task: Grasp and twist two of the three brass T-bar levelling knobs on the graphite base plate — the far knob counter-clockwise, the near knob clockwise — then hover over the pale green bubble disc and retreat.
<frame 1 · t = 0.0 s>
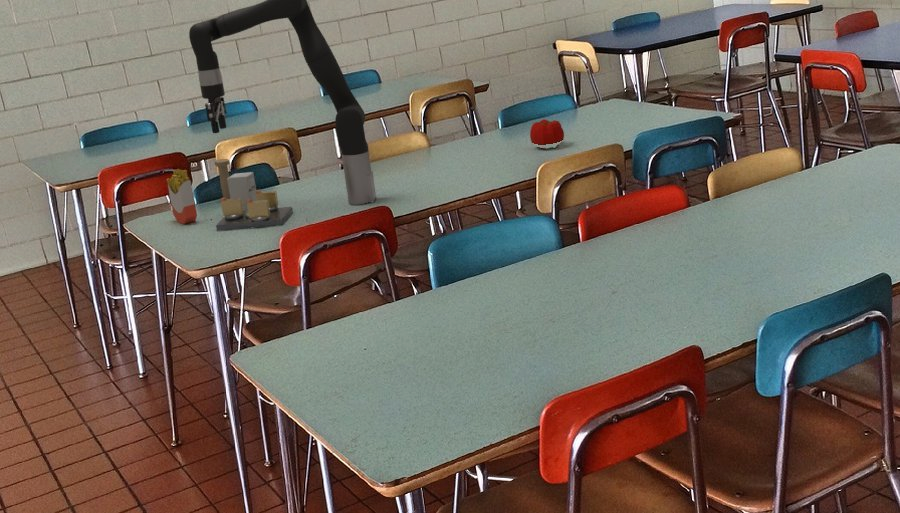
hand: (219, 130, 354), 29 cm above the table, tool pointing down, fingers open, 8 cm apart
knob b: (267, 199, 353), point 6 cm above the table, hinge at 0.0°
tomato: (548, 148, 410), on the table
handle: (229, 201, 384), on the table
supplement box: (246, 210, 367), on the table
knob a: (232, 207, 348), point 6 cm above the table, hinge at 0.0°
knob c: (258, 209, 341), point 6 cm above the table, hinge at 0.0°
base plate: (255, 221, 349), on the table
french fries container: (186, 222, 360), on the table
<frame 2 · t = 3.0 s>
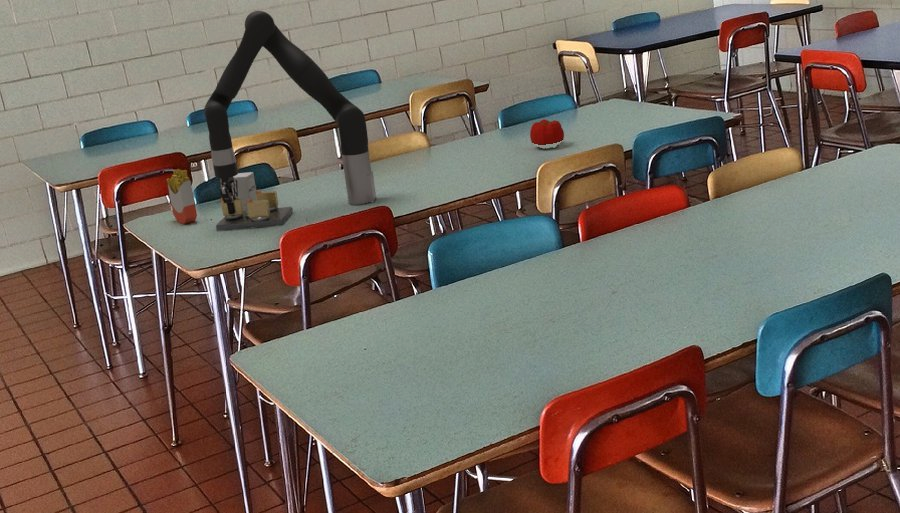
hand: (233, 212, 348), 4 cm above the table, tool pointing down, fingers closed on knob a, 2 cm apart
knob a: (232, 207, 348), point 6 cm above the table, hinge at 0.0°, touching gripper
everything else where it was.
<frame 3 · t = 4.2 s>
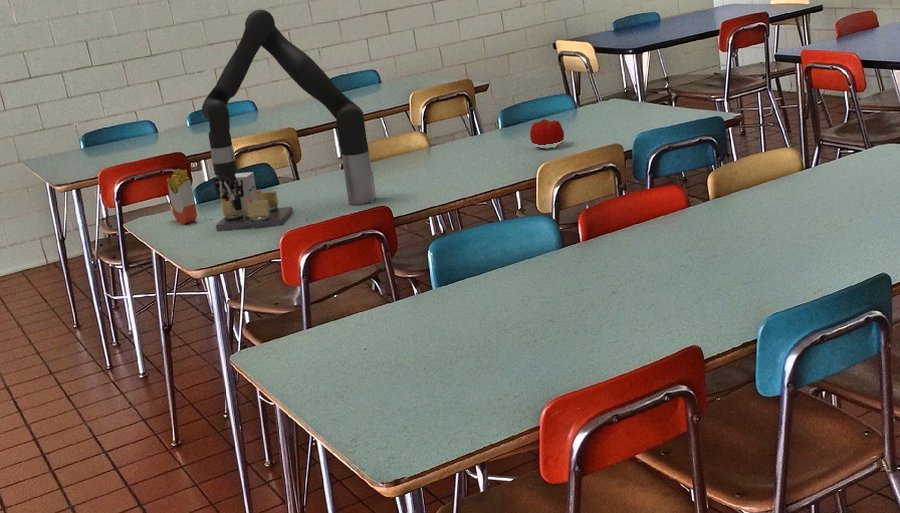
hand: (232, 208, 348), 5 cm above the table, tool pointing down, fingers open, 6 cm apart
knob a: (232, 207, 348), point 6 cm above the table, hinge at 28.2°
everything else where it was.
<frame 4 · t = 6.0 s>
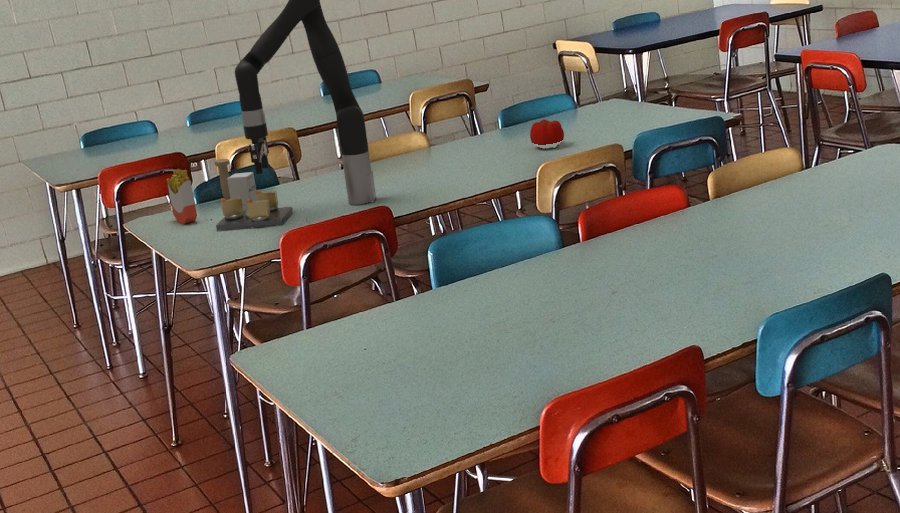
hand: (262, 170, 350), 16 cm above the table, tool pointing down, fingers open, 8 cm apart
knob a: (232, 207, 348), point 6 cm above the table, hinge at 32.5°
everything else where it was.
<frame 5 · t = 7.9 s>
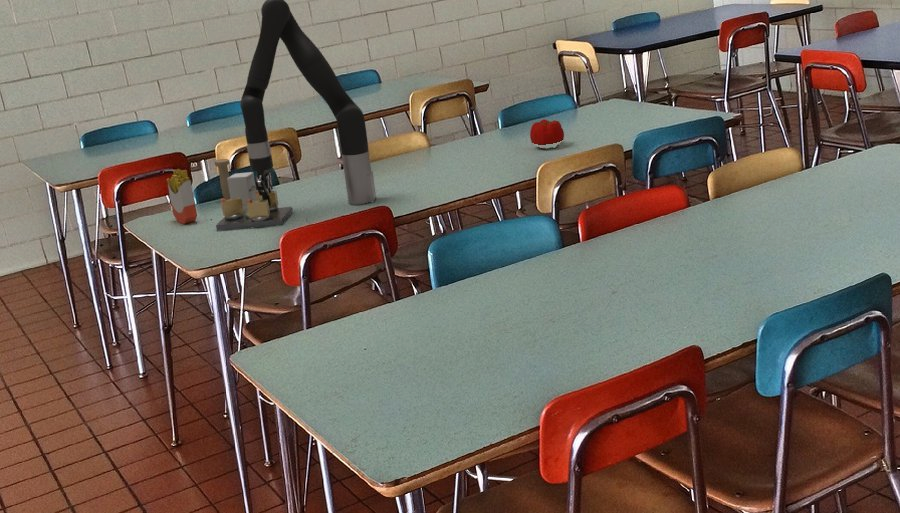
hand: (268, 204, 353), 4 cm above the table, tool pointing down, fingers closed on knob b, 2 cm apart
knob b: (267, 199, 353), point 6 cm above the table, hinge at 0.0°, touching gripper
everything else where it was.
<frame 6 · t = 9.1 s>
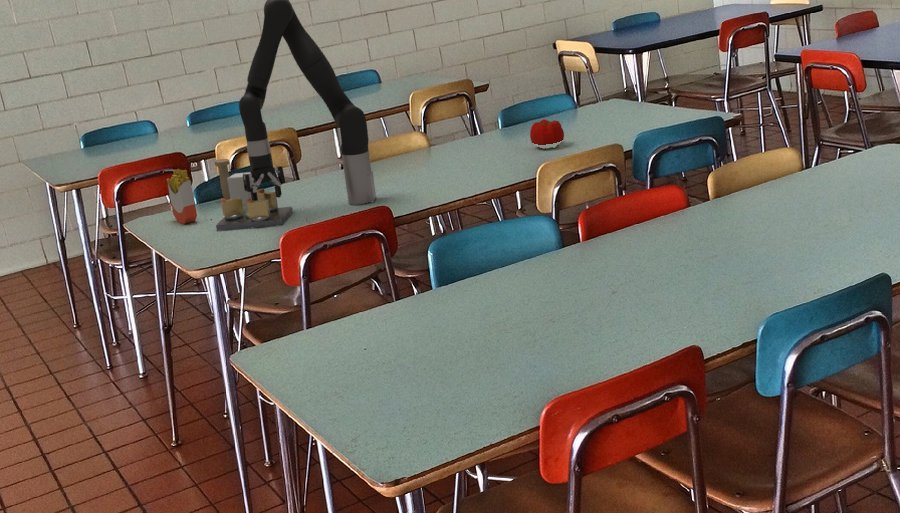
hand: (267, 200, 353), 6 cm above the table, tool pointing down, fingers open, 8 cm apart
knob b: (267, 199, 353), point 6 cm above the table, hinge at -31.0°
everything else where it was.
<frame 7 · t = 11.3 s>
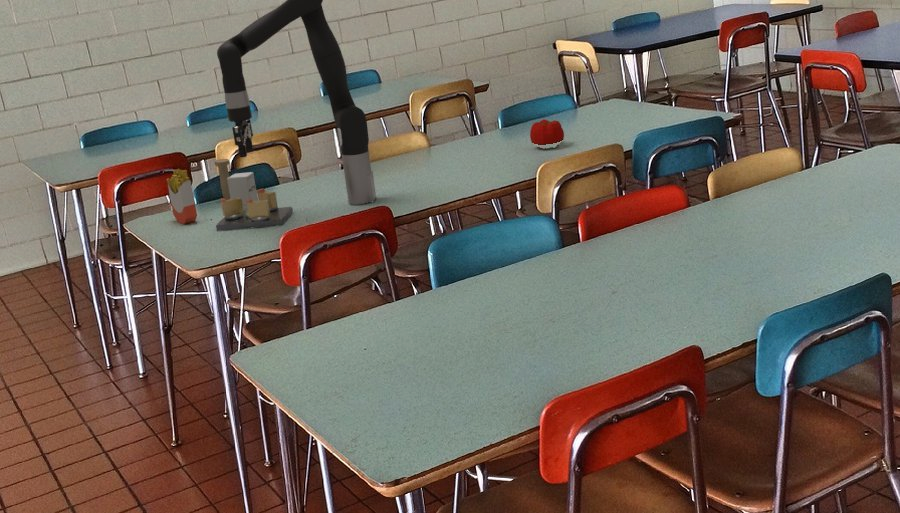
hand: (246, 154, 343), 23 cm above the table, tool pointing down, fingers open, 8 cm apart
knob b: (267, 199, 353), point 6 cm above the table, hinge at -34.3°
everything else where it was.
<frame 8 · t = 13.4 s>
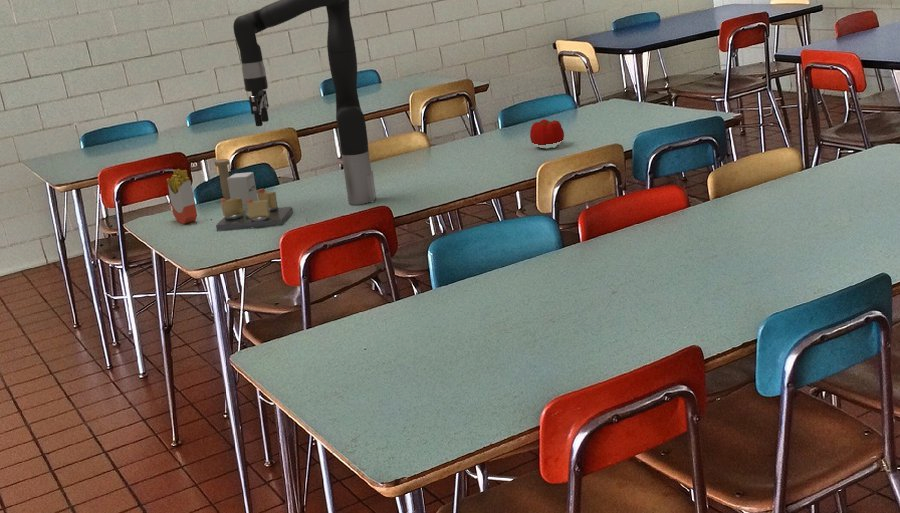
hand: (262, 123, 353), 30 cm above the table, tool pointing down, fingers open, 8 cm apart
nothing on the table moved.
at the end: knob a at +33° (first picture: +0°); knob b at -34° (first picture: +0°); knob c at +0° (first picture: +0°) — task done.
